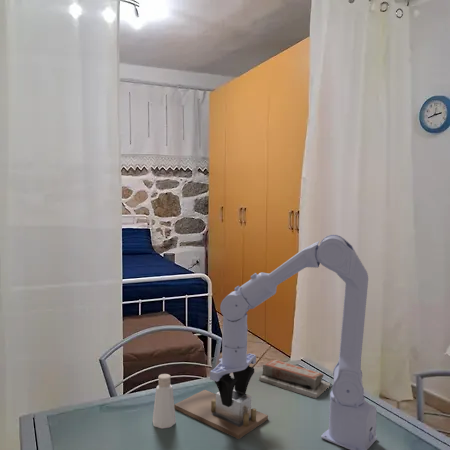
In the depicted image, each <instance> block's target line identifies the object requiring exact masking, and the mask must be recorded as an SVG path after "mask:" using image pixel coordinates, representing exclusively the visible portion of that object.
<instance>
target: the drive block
mask: <svg viewBox="0 0 450 450" xmlns="http://www.w3.org/2000/svg"><path fill="white" fill-rule="evenodd" d="M215 394H216V414H217V415H219V416H221V417H224V418H226V419H228V420H230V421H233V422H235V423H237V424H241V423H242V422H243V415H244V413H248V414H249V418H250V417H251V409H252V395H250V394H247V393H242V392H240V391H237V390H235V388H234V389H233V394H232V403H231V406H230V407H227V406H225V405H223V404H222V401H221V396H220V393H219V391H218V392H215Z"/></svg>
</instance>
